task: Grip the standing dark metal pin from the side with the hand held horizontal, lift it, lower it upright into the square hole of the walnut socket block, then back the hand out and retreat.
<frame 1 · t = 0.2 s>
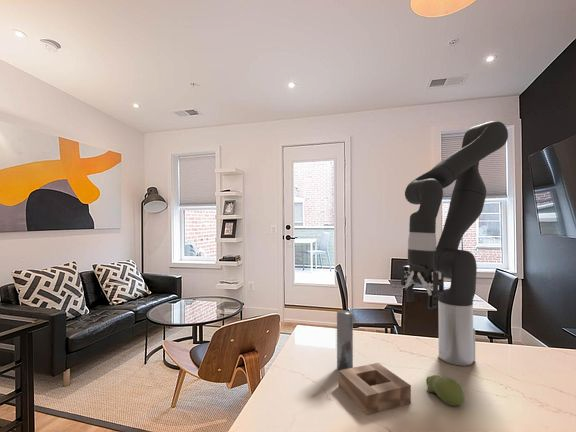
hand: (420, 305, 88), 18 cm above the kitchen island, tool pointing down, fingers open, 8 cm apart
green rounded lump: (443, 398, 73), on the kitchen island
pin: (344, 369, 86), on the kitchen island
socket block: (373, 394, 74), on the kitchen island
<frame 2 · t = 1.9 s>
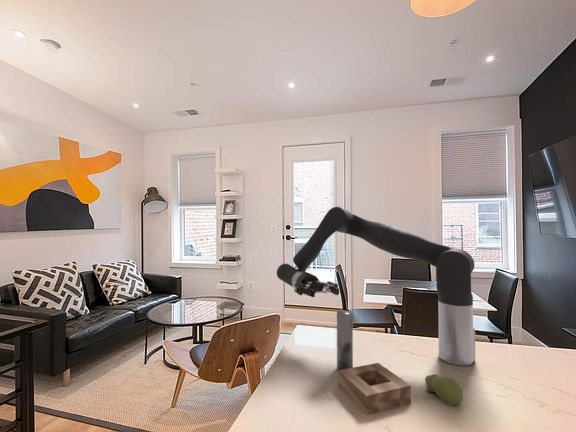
hand: (326, 293, 97), 19 cm above the kitchen island, tool horizontal, fingers open, 8 cm apart
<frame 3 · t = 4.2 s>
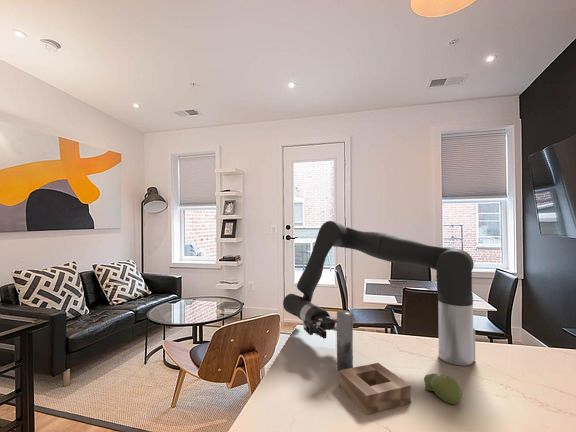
hand: (338, 333, 90), 9 cm above the kitchen island, tool horizontal, fingers open, 8 cm apart
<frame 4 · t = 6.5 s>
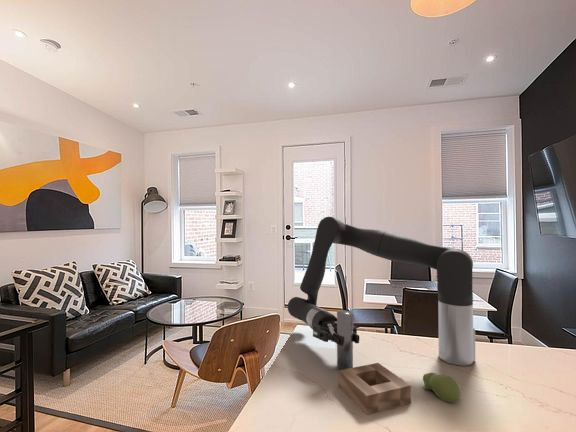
hand: (350, 341, 84), 9 cm above the kitchen island, tool horizontal, fingers closed on pin, 4 cm apart
pin: (344, 369, 86), on the kitchen island, touching gripper
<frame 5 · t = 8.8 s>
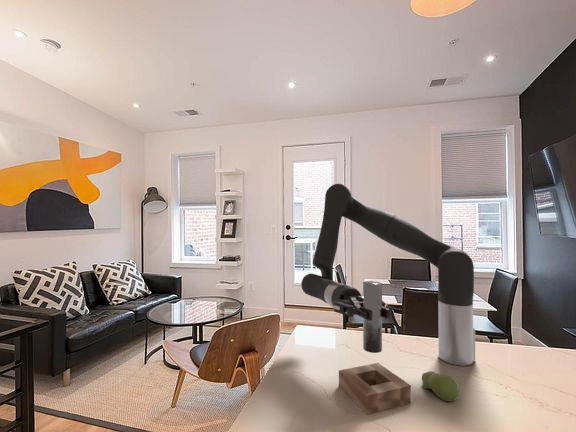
hand: (379, 315, 72), 20 cm above the kitchen island, tool horizontal, fingers closed on pin, 4 cm apart
pin: (372, 348, 75), point 11 cm above the kitchen island, touching gripper
when the fingers open (10 cm above the kitchen island, at t = 11.4 s): pin drops 1 cm, resting in socket block.
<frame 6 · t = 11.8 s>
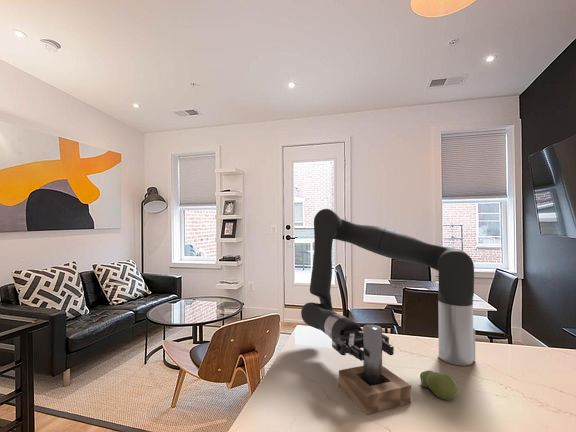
hand: (378, 353, 73), 11 cm above the kitchen island, tool horizontal, fingers open, 8 cm apart
pin: (372, 394, 74), resting in socket block
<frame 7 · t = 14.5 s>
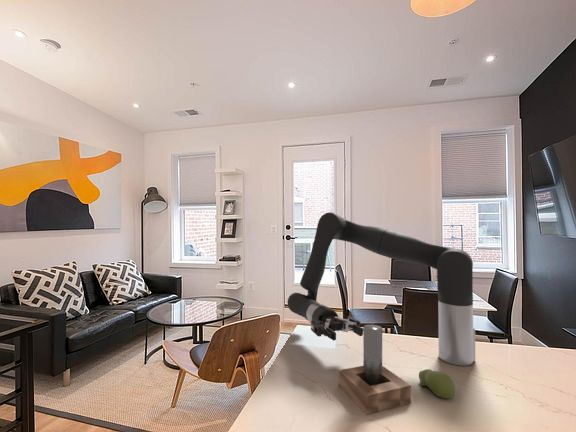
hand: (348, 334, 85), 10 cm above the kitchen island, tool horizontal, fingers open, 8 cm apart
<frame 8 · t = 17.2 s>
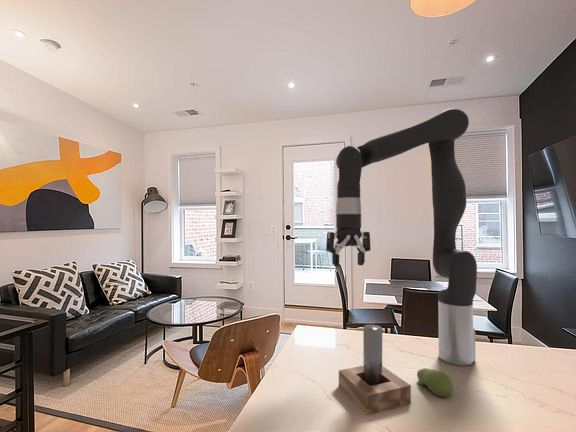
hand: (348, 265, 94), 28 cm above the kitchen island, tool pointing down, fingers open, 8 cm apart
at the end: pin 0.1 cm off-centre on the socket block, point 0.0 cm above the socket block's base; pin tilted 0°; the gripper is holding nothing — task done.
